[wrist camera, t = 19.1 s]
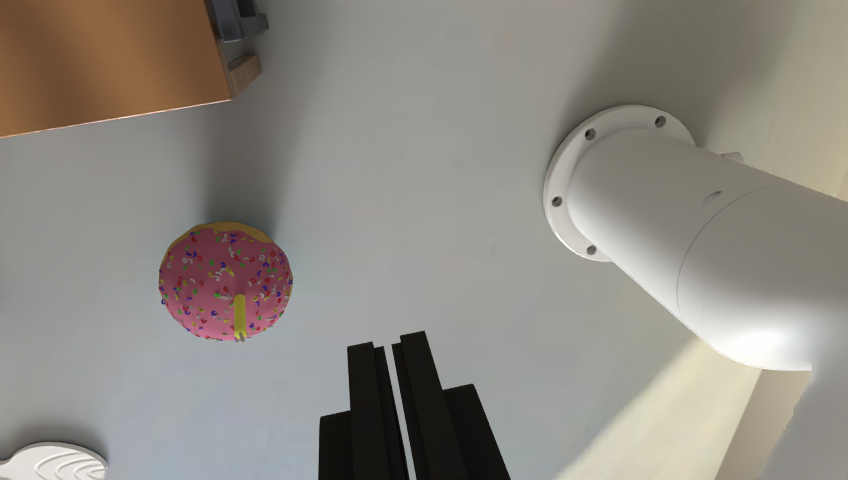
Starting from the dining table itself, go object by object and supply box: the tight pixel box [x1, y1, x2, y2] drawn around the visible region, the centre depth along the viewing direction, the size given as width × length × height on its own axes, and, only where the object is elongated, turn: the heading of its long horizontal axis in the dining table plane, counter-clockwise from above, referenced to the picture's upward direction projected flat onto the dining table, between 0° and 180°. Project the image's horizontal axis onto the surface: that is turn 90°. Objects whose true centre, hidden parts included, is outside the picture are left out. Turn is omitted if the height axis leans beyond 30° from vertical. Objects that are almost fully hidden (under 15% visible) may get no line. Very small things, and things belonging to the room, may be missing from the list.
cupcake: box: [158, 221, 293, 343], centre depth 35 cm, size 9×8×12 cm
